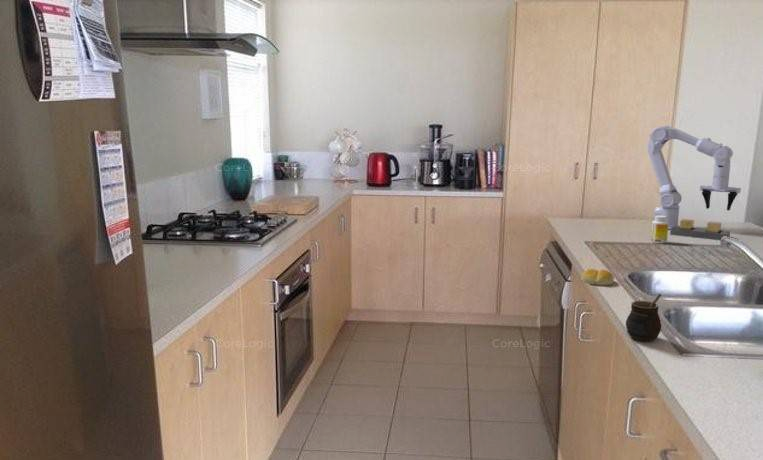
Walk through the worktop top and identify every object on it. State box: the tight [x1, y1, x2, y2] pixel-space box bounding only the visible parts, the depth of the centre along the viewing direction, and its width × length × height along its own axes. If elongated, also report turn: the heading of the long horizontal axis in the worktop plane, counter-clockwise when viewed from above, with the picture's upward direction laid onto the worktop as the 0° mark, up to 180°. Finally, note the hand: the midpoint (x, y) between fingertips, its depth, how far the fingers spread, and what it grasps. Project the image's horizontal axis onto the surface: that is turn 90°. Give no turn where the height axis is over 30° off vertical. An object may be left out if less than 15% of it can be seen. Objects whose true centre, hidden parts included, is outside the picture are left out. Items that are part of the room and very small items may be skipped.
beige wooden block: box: [679, 218, 695, 230], centre depth 244 cm, size 4×4×6 cm
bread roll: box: [581, 268, 615, 287], centre depth 178 cm, size 8×9×4 cm
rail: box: [669, 225, 731, 241], centre depth 241 cm, size 20×8×2 cm, turn 49°
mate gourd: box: [625, 293, 662, 342], centre depth 133 cm, size 7×8×10 cm
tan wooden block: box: [706, 221, 722, 233], centre depth 237 cm, size 4×4×6 cm
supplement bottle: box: [650, 216, 669, 244], centre depth 230 cm, size 6×6×10 cm
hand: (718, 209), depth 245 cm, fingers open, 7 cm apart
